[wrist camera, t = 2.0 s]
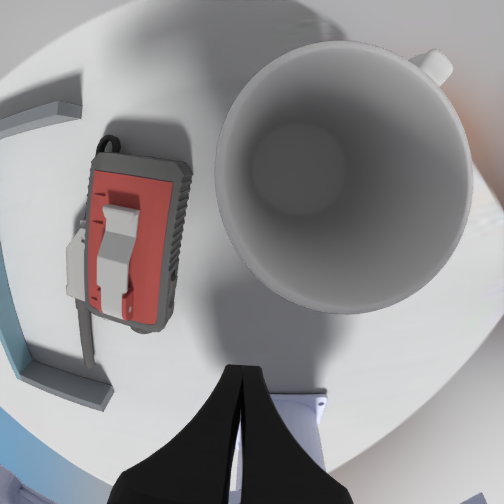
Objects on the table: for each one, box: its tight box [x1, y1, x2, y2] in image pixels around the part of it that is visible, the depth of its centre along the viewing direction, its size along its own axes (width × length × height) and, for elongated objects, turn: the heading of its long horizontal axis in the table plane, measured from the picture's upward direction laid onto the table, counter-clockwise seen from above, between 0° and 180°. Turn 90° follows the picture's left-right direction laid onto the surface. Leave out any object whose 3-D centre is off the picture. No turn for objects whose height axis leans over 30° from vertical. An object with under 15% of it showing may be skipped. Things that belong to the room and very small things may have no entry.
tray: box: [0, 101, 114, 412], centre depth 18 cm, size 26×12×3 cm, turn 177°
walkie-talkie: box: [66, 135, 193, 368], centre depth 18 cm, size 9×4×20 cm
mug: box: [215, 40, 473, 314], centre depth 11 cm, size 10×7×12 cm, turn 141°
